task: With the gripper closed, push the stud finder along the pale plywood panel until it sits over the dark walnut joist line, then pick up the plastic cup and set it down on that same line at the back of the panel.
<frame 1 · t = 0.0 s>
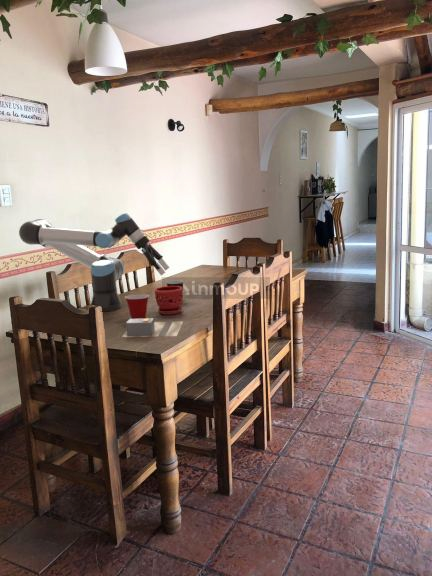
hand: (165, 271, 250), 15 cm above the table, tool tilted 35°, fingers open, 13 cm apart
plywood panel: (153, 332, 199), on the table
plastic cup: (138, 321, 216), on the table
plant pot: (170, 312, 229), on the table
coffee mug: (176, 300, 252), on the table
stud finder: (141, 333, 193), point 1 cm above the table, touching plywood panel
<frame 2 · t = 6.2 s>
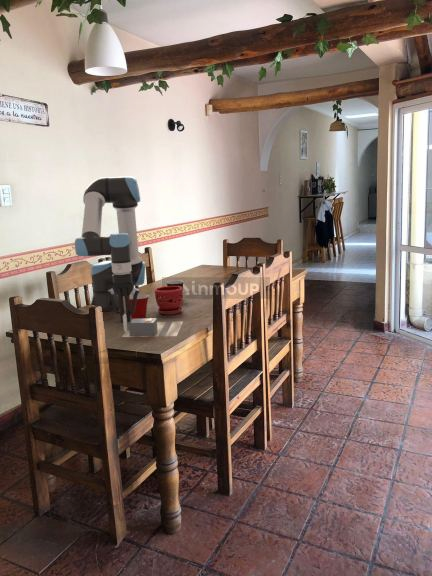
hand: (126, 330, 193), 3 cm above the table, tool pointing down, fingers closed
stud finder: (143, 333, 193), point 2 cm above the table, touching gripper
everything else where it was.
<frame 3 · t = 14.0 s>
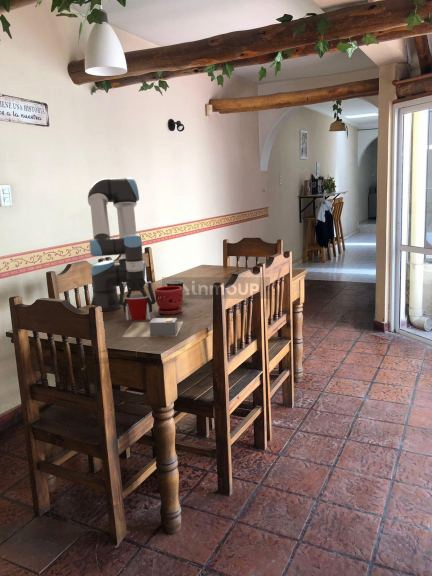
hand: (138, 319, 216), 1 cm above the table, tool pointing down, fingers closed on plastic cup, 9 cm apart
plastic cup: (138, 321, 216), on the table, touching gripper
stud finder: (164, 333, 192), point 1 cm above the table, touching plywood panel
everything else where it was.
when the fingers open (4 cm above the table, at t = 20.1 s): plastic cup drops 1 cm, resting on plywood panel.
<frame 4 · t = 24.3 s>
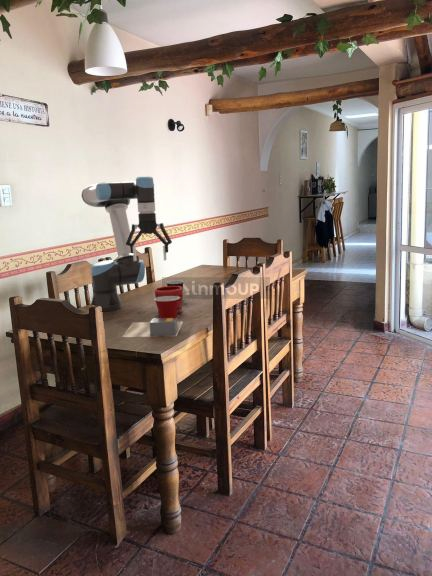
hand: (150, 260, 215), 27 cm above the table, tool pointing down, fingers open, 13 cm apart
plastic cup: (168, 324, 204), point 1 cm above the table, touching plywood panel
everything else where it was.
at the end: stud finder 0.6 cm from the target spot on the plywood panel, point 1.5 cm above the plywood panel's base; plastic cup inside the target area on the plywood panel (0.7 cm from its centre), point 1.3 cm above the plywood panel's base; plastic cup tilted 0° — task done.
